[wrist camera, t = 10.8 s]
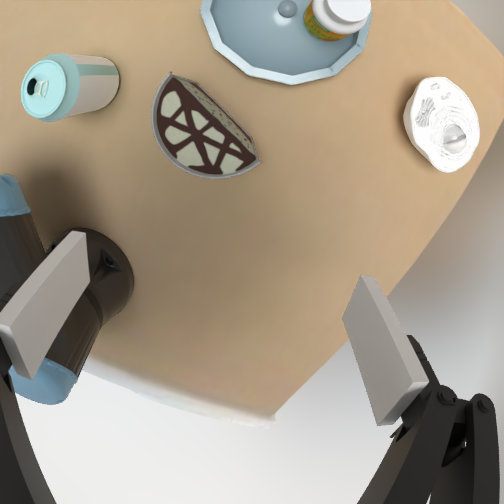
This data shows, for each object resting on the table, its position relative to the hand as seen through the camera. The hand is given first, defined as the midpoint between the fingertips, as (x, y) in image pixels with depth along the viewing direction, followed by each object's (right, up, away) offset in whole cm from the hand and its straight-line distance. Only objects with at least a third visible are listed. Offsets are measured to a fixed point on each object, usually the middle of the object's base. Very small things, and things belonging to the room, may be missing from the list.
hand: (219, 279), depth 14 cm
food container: (-4, +16, +21) cm, 27 cm away
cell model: (+24, +18, +19) cm, 36 cm away
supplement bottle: (+10, +27, +14) cm, 32 cm away
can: (-18, +22, +17) cm, 33 cm away
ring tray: (+5, +28, +14) cm, 32 cm away
